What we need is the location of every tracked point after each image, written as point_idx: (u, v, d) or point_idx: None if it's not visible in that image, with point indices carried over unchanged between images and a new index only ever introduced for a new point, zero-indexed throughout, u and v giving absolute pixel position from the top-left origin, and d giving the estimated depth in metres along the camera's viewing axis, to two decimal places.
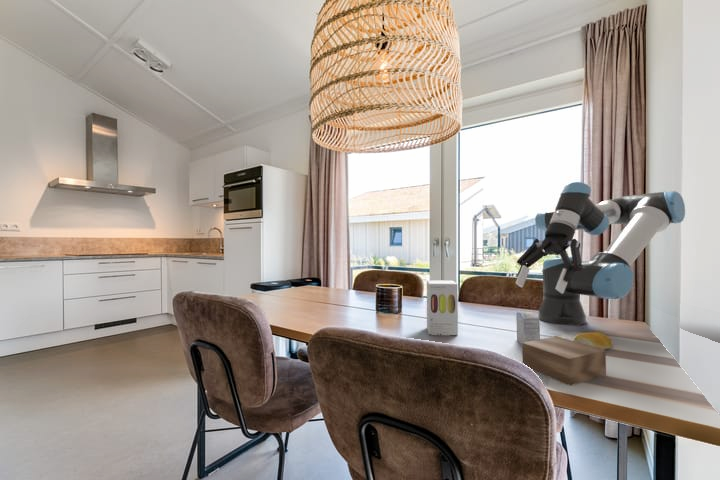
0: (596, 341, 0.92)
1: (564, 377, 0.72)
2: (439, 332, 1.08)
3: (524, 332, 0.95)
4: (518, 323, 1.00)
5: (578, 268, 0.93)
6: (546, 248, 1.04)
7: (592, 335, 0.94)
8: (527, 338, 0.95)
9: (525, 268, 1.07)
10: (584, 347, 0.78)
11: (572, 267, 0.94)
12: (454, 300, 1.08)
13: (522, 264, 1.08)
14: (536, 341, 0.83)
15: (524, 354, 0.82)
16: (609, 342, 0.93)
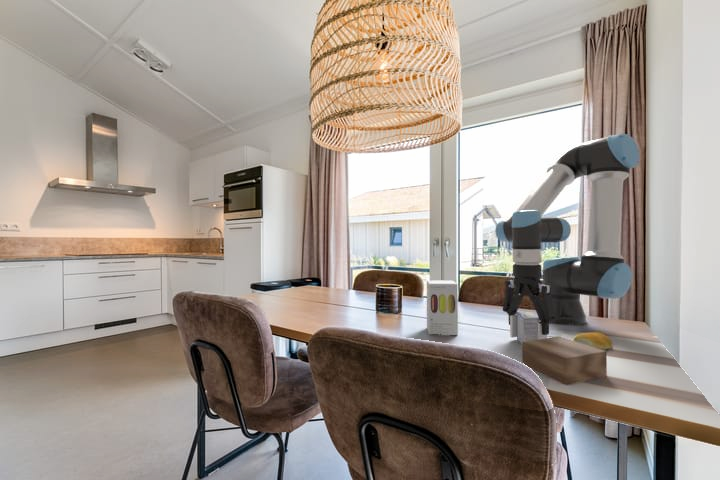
0: (596, 341, 0.92)
1: (561, 377, 0.72)
2: (439, 332, 1.08)
3: (524, 332, 0.95)
4: (518, 323, 1.00)
5: (551, 321, 0.91)
6: (520, 291, 0.99)
7: (592, 335, 0.94)
8: (527, 338, 0.95)
9: (514, 318, 1.02)
10: (585, 347, 0.78)
11: (545, 321, 0.92)
12: (454, 300, 1.08)
13: (509, 314, 1.03)
14: (537, 341, 0.83)
15: (524, 353, 0.82)
16: (609, 342, 0.93)
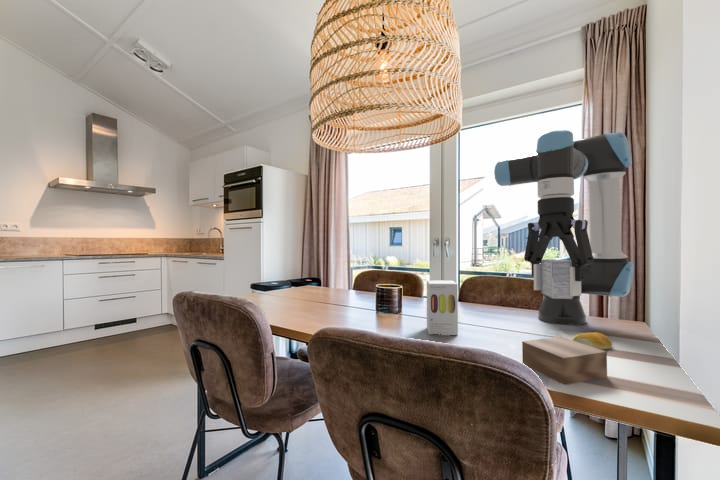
0: (596, 341, 0.92)
1: (559, 376, 0.73)
2: (439, 332, 1.08)
3: (552, 279, 0.77)
4: (544, 271, 0.82)
5: (588, 263, 0.73)
6: (547, 232, 0.81)
7: (591, 335, 0.94)
8: (556, 286, 0.77)
9: (538, 267, 0.84)
10: (585, 348, 0.77)
11: (580, 263, 0.74)
12: (454, 300, 1.08)
13: (533, 262, 0.85)
14: (537, 340, 0.83)
15: (523, 353, 0.83)
16: (608, 342, 0.93)
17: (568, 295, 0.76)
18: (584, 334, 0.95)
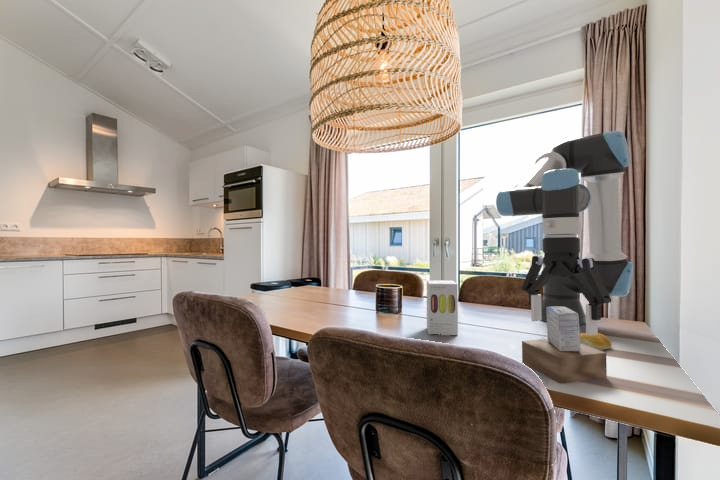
0: (595, 341, 0.92)
1: (556, 376, 0.73)
2: (439, 332, 1.08)
3: (559, 331, 0.76)
4: (549, 320, 0.81)
5: (606, 302, 0.70)
6: (552, 271, 0.80)
7: (591, 335, 0.94)
8: (563, 339, 0.75)
9: (535, 297, 0.85)
10: (585, 348, 0.77)
11: (597, 302, 0.71)
12: (454, 300, 1.08)
13: (530, 293, 0.85)
14: (537, 340, 0.84)
15: (523, 353, 0.83)
16: (608, 342, 0.93)
17: (576, 348, 0.75)
18: (583, 334, 0.95)
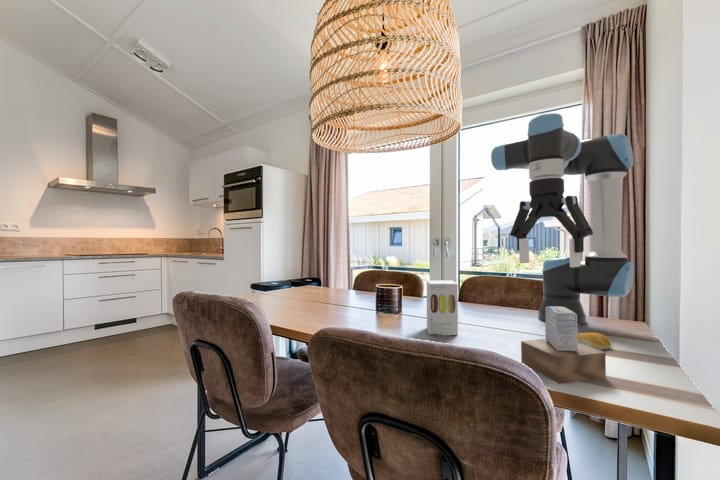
0: (595, 341, 0.92)
1: (555, 376, 0.73)
2: (439, 332, 1.08)
3: (557, 331, 0.76)
4: (548, 320, 0.81)
5: (587, 234, 0.74)
6: (538, 213, 0.84)
7: (591, 335, 0.94)
8: (561, 338, 0.76)
9: (523, 241, 0.89)
10: (584, 348, 0.77)
11: (580, 235, 0.76)
12: (454, 300, 1.08)
13: (518, 237, 0.90)
14: (536, 340, 0.84)
15: (522, 352, 0.83)
16: (608, 342, 0.93)
17: (573, 348, 0.75)
18: (583, 334, 0.95)
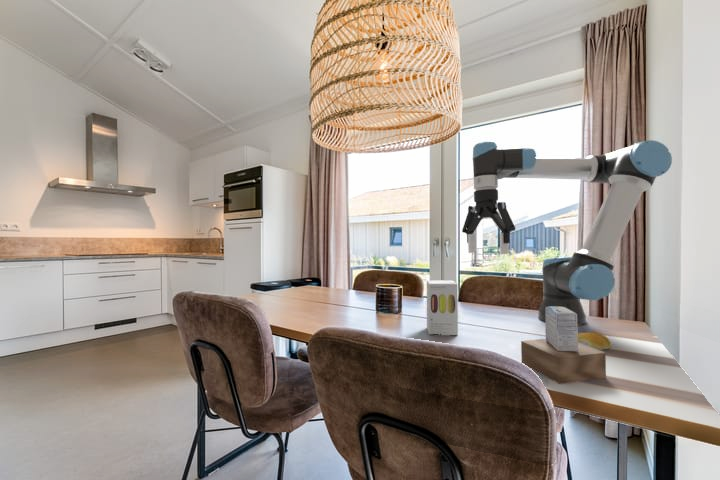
0: (595, 341, 0.92)
1: (555, 376, 0.73)
2: (439, 332, 1.08)
3: (557, 331, 0.76)
4: (548, 320, 0.81)
5: (511, 230, 1.04)
6: (480, 214, 1.13)
7: (591, 335, 0.94)
8: (561, 338, 0.76)
9: (471, 236, 1.18)
10: (584, 348, 0.77)
11: (506, 230, 1.05)
12: (454, 300, 1.08)
13: (467, 233, 1.19)
14: (536, 340, 0.84)
15: (522, 352, 0.83)
16: (607, 342, 0.93)
17: (573, 348, 0.75)
18: (583, 334, 0.95)
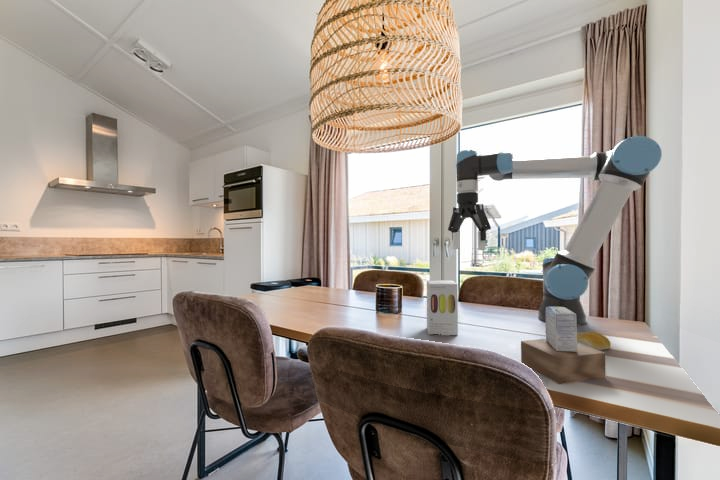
0: (595, 341, 0.92)
1: (555, 376, 0.73)
2: (439, 332, 1.08)
3: (556, 331, 0.76)
4: (548, 320, 0.81)
5: (487, 228, 1.17)
6: (462, 215, 1.27)
7: (590, 335, 0.94)
8: (560, 339, 0.75)
9: (455, 234, 1.32)
10: (584, 348, 0.77)
11: (483, 229, 1.18)
12: (454, 300, 1.08)
13: (452, 231, 1.32)
14: (536, 340, 0.84)
15: (522, 352, 0.83)
16: (607, 342, 0.93)
17: (573, 348, 0.75)
18: (583, 334, 0.95)
